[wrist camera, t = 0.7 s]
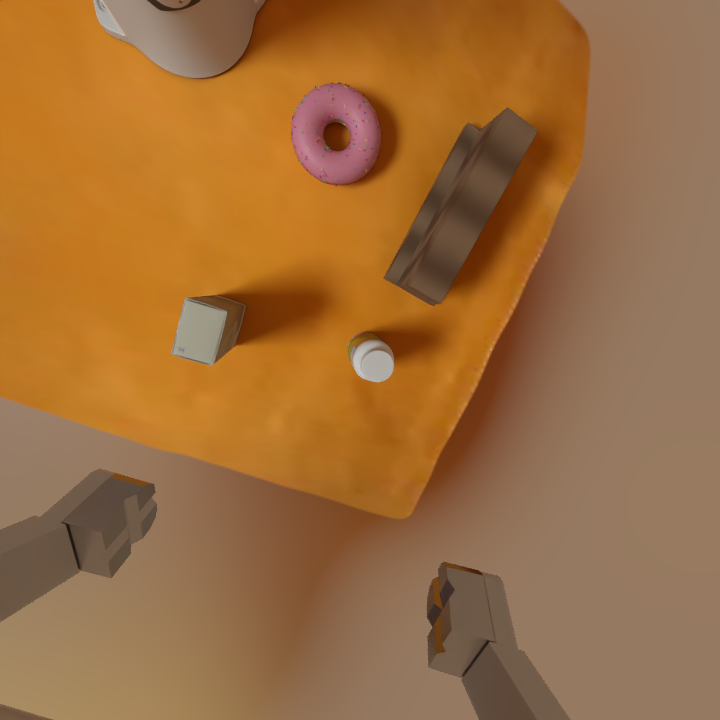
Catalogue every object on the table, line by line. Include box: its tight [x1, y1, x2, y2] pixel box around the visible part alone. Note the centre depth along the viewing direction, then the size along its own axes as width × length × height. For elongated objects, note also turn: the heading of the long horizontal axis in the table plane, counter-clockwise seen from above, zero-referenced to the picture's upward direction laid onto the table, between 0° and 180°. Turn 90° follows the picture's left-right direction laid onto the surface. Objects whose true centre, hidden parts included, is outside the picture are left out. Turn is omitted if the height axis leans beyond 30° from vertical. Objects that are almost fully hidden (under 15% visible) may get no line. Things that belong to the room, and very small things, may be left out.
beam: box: [384, 107, 538, 306], centre depth 45 cm, size 22×8×8 cm, turn 152°
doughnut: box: [291, 82, 382, 186], centre depth 43 cm, size 11×11×4 cm
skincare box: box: [171, 295, 246, 365], centre depth 42 cm, size 6×4×12 cm
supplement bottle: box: [347, 332, 394, 382], centre depth 47 cm, size 5×5×10 cm
